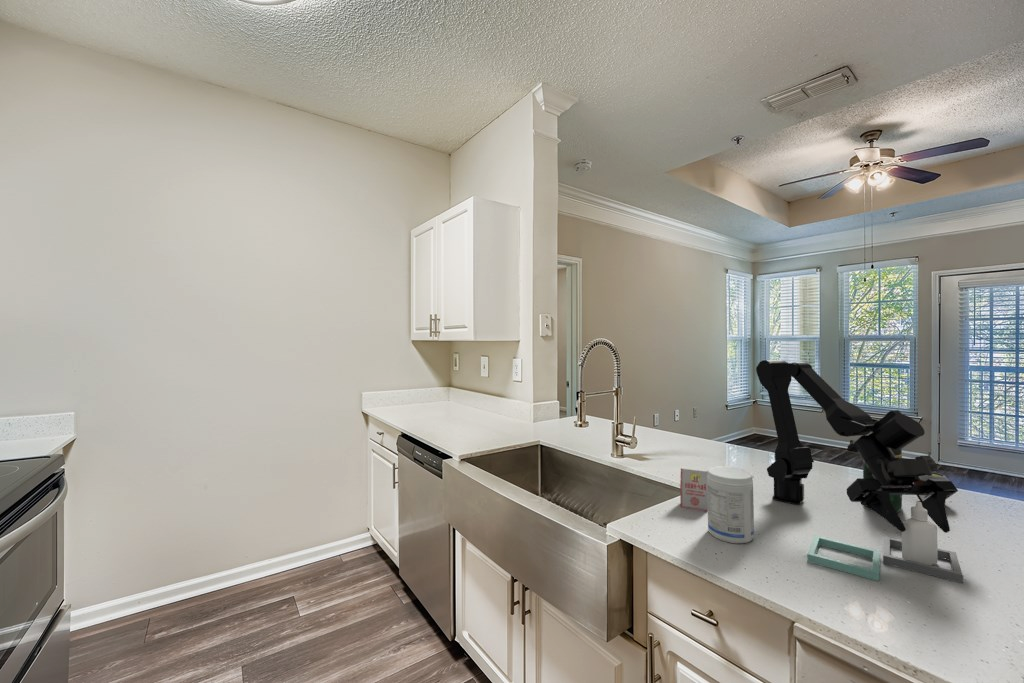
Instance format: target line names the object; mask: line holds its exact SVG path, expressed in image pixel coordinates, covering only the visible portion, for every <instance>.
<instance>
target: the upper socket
mask: <svg viewBox="0 0 1024 683" xmlns="http://www.w3.org/2000/svg"><path fill="white" fill-rule="evenodd" d="M882 545H883V548H882V549H883V550H882V563H883V564H885V565H890V566H893V567H899V568H901V569H906V570H910V571H912V572H913V571H914V572H918V573H921V574H924V573H925V575H928V574H929V576H932V575H933V577H936V576H937V578H940V579H944V578H945V580H948V579H949V580H948V581H951V582H957V583H959V584H963V582H964V581H963V578H964V576H963V572H962V569H961V565H960V562H959V559H958V555H957V552H955V551H951V550H946V549H942V548H938V557H941V558H940V559H943V558H946V559H945V560H947V559H949V560H950V561H949V560H948V561H949V564H950V567H951V568H950V569H947V568H944V567H939V566H935V565H928V564H924V563H920V562H915V561H911V560H907V559H903V558H902V557H898V556H894V555H891V546H893V548H895V547H897V549H900V548H901V550H902V539H898V538H892V537H889V536H884V535H883V544H882Z"/></svg>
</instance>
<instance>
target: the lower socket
mask: <svg viewBox="0 0 1024 683" xmlns="http://www.w3.org/2000/svg"><path fill="white" fill-rule="evenodd" d="M820 546H823V547H826V548H830V547H831V548H830V549H834V550H839V551H841V552H846V553H851V554H855V555H858V556H861V555H862V556H861V557H865V556H866V557H867V558H869V557H870V558H871V559H872V564H871V568H869V567H865V566H861V565H858V564H854V563H850V562H846V561H842V560H838V559H835V558H832V557H828V556H824V555H820V554H817V553H818V550H819V547H820ZM806 555H807V558H806V559H807V561H806V562H808V563H812V564H815V565H820V566H822V567H825V568H830V569H834V570H837V571H840V572H844V573H849V574H852V575H854V576H858V577H862V578H865V579H869V580H872V581H876V582H879V581H880V566H881V564H880V563H881V551H880V550H878V549H874V548H869V547H866V546H862V545H858V544H853V543H849V542H845V541H841V540H837V539H832V538H829V537H824V536H821V535H816V534H814V535H813V538H812V540H811V544H810V546H809V548H808V551H807V553H806ZM866 557H865V558H866Z"/></svg>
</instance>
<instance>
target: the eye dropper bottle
mask: <svg viewBox="0 0 1024 683" xmlns="http://www.w3.org/2000/svg"><path fill="white" fill-rule="evenodd" d="M919 501H920V500H918V501H916V503H915V505H914V506H911V507H910V518H907V519H906V520H904V521H902V522H903V524H904V526H905V529H906V531H904V532H901V540H902V549H901V558H903V559H907V560H911V561H915V562H920V563H924V564H928V565H932V566H935V565H937V564H938V562H939V561H938V549H939V548H938V545H939V544H938V528H937V527H938V526H937V524H936V523H933V522H932V521H929V520H928V519H929V518H928V517H929V515H928V511H927V510H926V509H924V508H923V506H922V503H921V502H919Z"/></svg>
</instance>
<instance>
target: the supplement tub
mask: <svg viewBox="0 0 1024 683" xmlns="http://www.w3.org/2000/svg"><path fill="white" fill-rule="evenodd" d="M707 471H708V475H707V503H708V511H707V529H708V532H709V534H710V535H711V536H713V537H715V538H716V539H717V540H720V541H723V542H726V543H730V544H731V543H732V544H747V543H749V542H751V541H752V540H753V539H754V537H755V520H754V519H755V518H754V517H755V514H754V513H755V512H754V507H755V506H754V480H753V474H752V473H751V472H750V471H748V470H745V469H743V468H740V467H734V466H725V465H721V466H720V465H719V466H711V467H709V468H708V469H707Z"/></svg>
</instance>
